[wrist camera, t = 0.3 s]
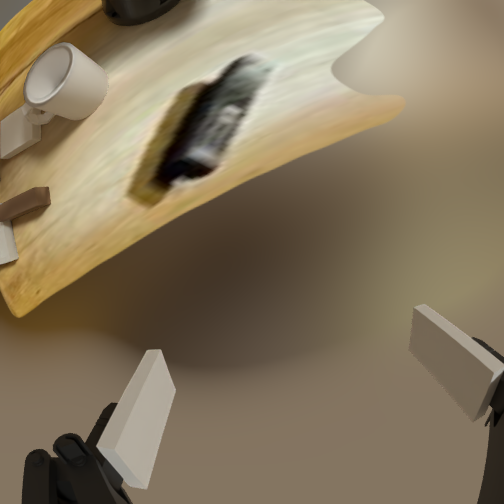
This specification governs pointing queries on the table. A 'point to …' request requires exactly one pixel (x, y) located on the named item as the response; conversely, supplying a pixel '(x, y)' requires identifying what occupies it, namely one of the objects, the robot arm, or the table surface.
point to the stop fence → (25, 203)
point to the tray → (7, 243)
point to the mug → (63, 85)
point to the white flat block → (18, 133)
